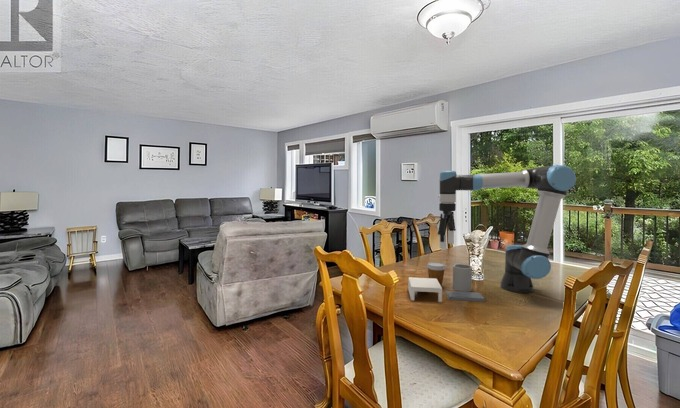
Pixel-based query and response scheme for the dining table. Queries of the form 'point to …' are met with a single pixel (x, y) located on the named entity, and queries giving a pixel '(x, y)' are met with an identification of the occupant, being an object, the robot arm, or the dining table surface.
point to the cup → (462, 277)
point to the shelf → (424, 286)
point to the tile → (465, 296)
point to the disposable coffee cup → (436, 271)
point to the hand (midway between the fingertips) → (446, 246)
